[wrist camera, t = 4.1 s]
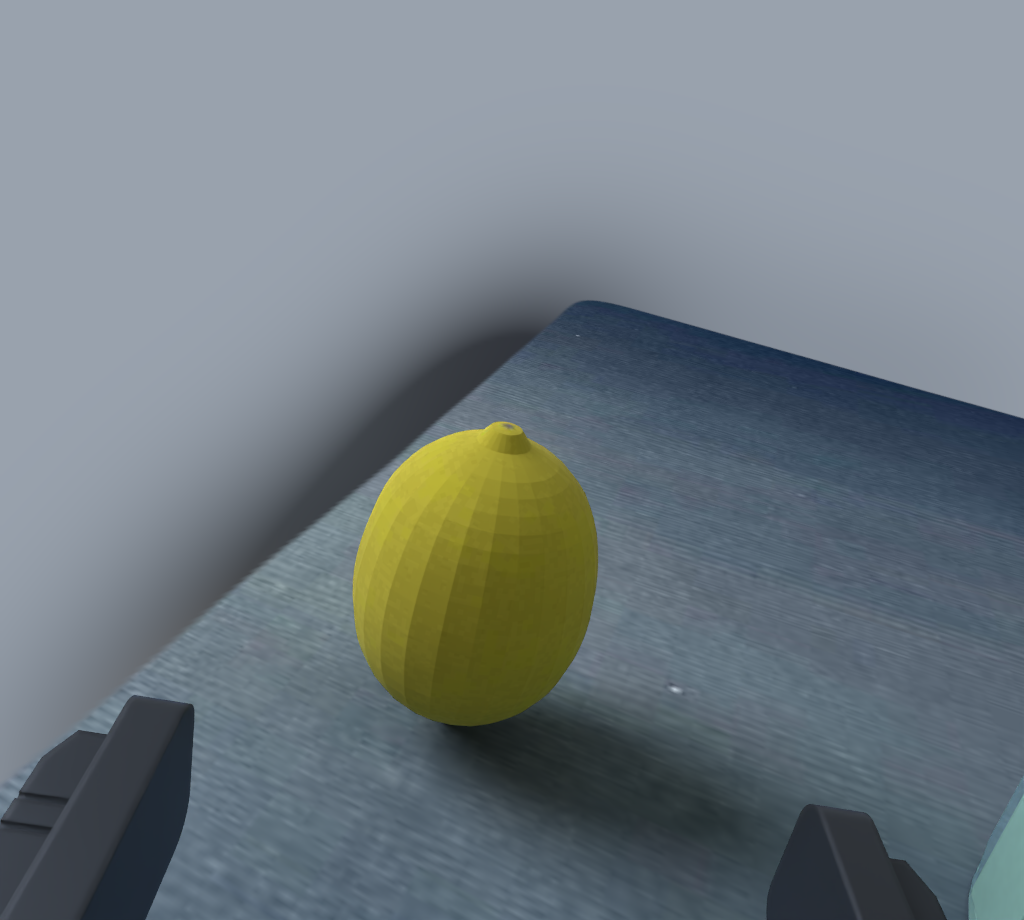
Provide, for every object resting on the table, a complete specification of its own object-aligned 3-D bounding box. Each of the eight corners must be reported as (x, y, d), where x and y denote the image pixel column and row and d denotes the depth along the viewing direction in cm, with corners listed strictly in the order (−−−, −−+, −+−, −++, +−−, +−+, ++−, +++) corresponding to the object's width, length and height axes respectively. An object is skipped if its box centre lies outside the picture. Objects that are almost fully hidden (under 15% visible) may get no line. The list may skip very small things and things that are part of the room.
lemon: (575, 806, 22) (664, 500, 19) (330, 795, 21) (378, 468, 18) (538, 655, 27) (603, 392, 24) (338, 640, 26) (377, 361, 22)
